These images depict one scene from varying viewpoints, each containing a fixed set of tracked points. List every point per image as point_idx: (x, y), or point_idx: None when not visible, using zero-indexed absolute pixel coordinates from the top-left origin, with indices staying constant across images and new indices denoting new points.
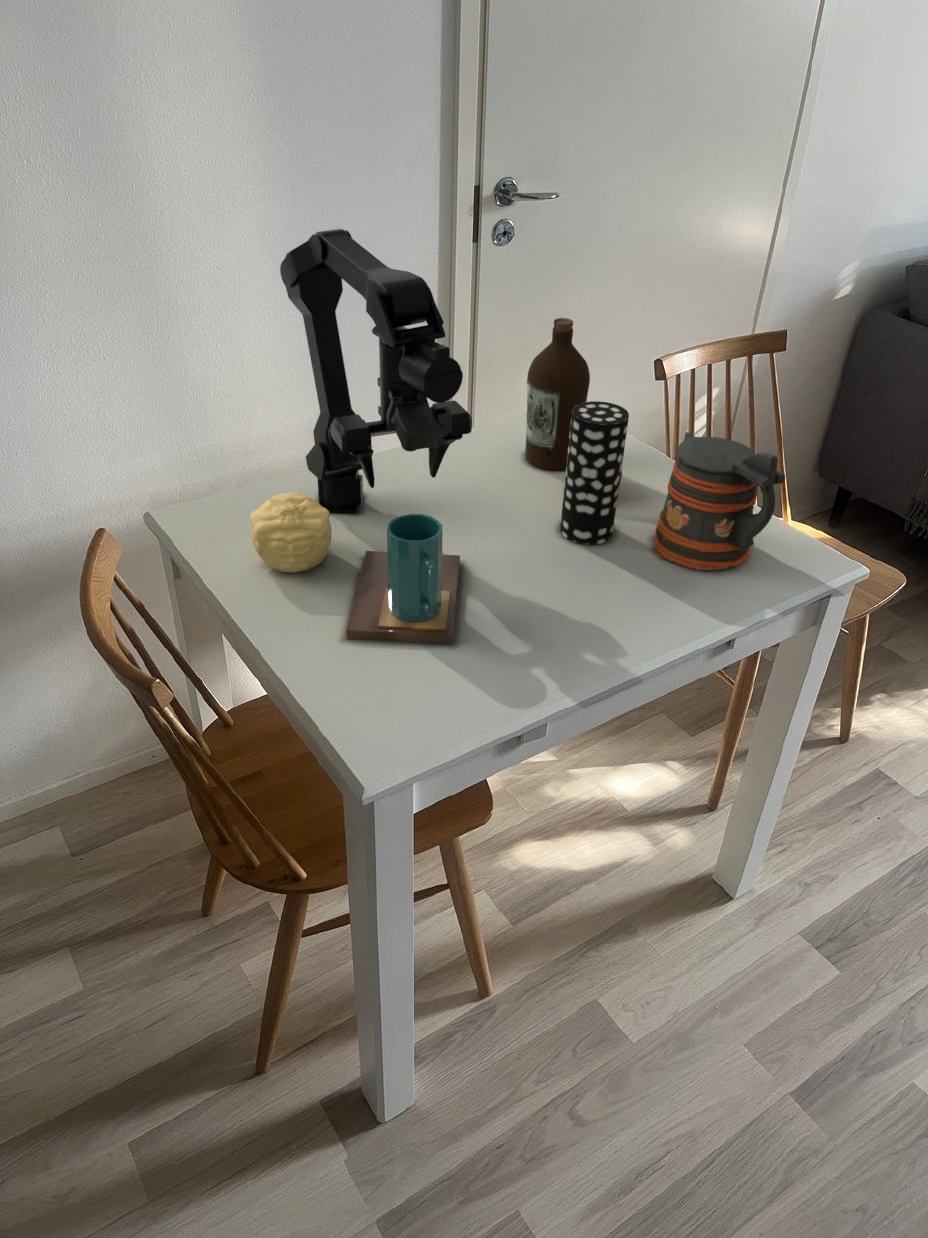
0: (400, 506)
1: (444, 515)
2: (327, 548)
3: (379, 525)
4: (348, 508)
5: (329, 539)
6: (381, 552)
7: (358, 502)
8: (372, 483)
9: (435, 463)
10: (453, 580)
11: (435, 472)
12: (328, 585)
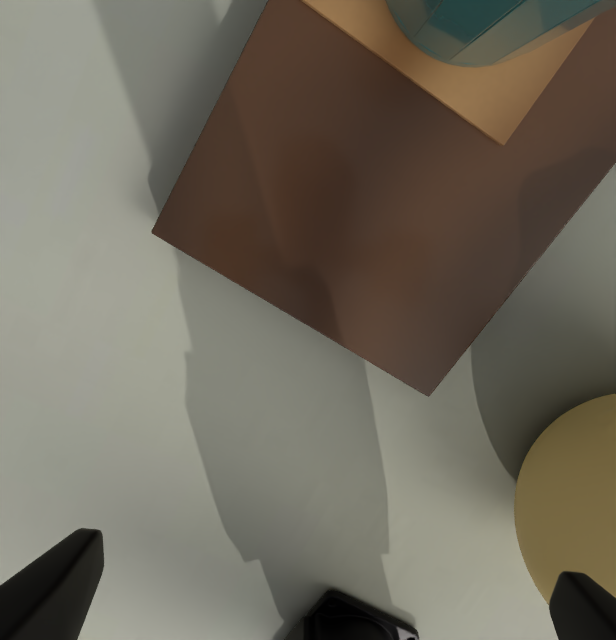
0: (200, 572)
1: (98, 489)
2: (591, 419)
3: (298, 516)
4: (344, 611)
5: (606, 437)
6: (391, 366)
7: (312, 622)
8: (607, 601)
9: (3, 636)
10: (245, 80)
11: (58, 556)
12: (597, 304)
